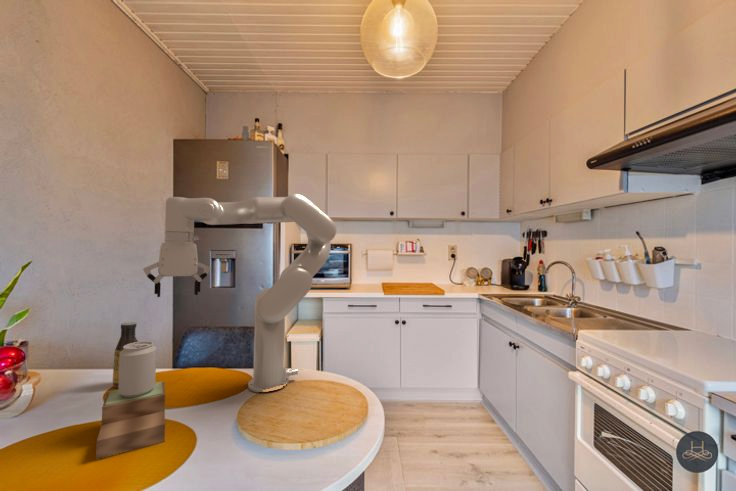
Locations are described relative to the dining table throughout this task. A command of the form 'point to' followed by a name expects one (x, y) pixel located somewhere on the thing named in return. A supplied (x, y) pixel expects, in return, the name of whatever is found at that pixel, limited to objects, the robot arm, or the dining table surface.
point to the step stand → (131, 422)
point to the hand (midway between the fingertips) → (177, 295)
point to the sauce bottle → (125, 339)
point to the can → (137, 369)
